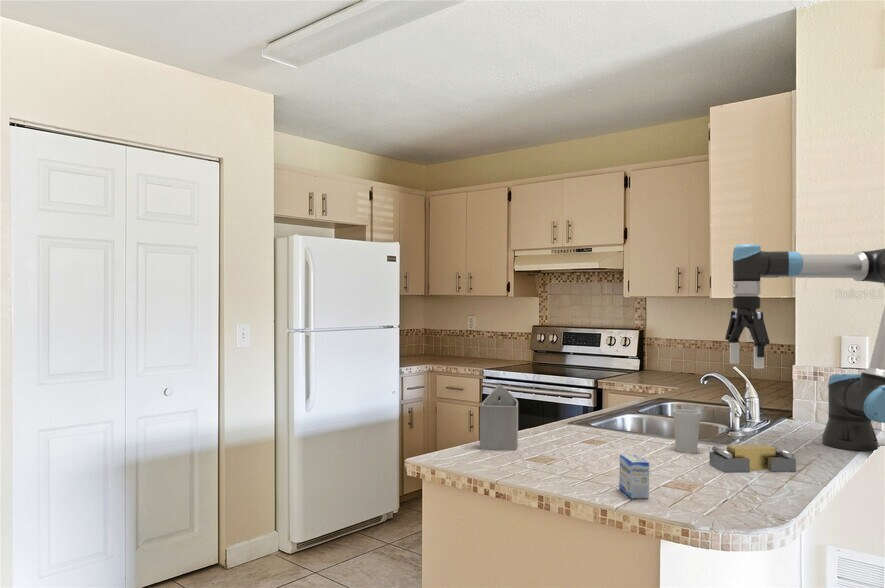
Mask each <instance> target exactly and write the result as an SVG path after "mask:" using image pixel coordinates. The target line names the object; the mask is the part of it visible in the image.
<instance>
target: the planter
mask: <svg viewBox="0 0 885 588" xmlns="http://www.w3.org/2000/svg"><path fill="white" fill-rule="evenodd" d="M518 447H519V401H518V399H517V398H516V397H515V396H514V395H513V394H512V393H511V392H509V391H508V389H506V388H505V387H504V386H502V385H501V384H498V385H497V386H496V387H495V388H494V389H493V390H492V391H491V392H490V393H489V395H487V397H486V398H485V399H484V400H483V401H482V402H481V403H480V406H479V450H482V451H484V450H485V451H486V450H487V451H517V450H518Z"/></svg>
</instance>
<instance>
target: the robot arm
mask: <svg viewBox="0 0 885 588" xmlns="http://www.w3.org/2000/svg"><path fill="white" fill-rule="evenodd" d="M761 248H762V247H761V245H760V244H755V243H749V244H748V243H746V244H743V243H742V244H737V245H736V246H734V247H733V251H732V285H731V287H732V294H733V295H734V296H733V297H732V308H733V309H737V310H736V311H734V310H732V311H730V319H729V323H728V326H727V330H726V333H725V337H724V338H725V340H726V341H728V343H729V364H730V365H731V364H732V365H734V364H737V365H740V340H739V339H740V337H741V335H742V334H743V331H744V329H745V328H747V329H748V330H749V333H750V335H751V337H752V340H753V342H754V344H753V369H756V370H758V369H765V346H767V345H770V342H771V341H770V339H769V338H770V337H769V335H768V331H767V328H766V324H765V320H764V313H763V311H757V309H758V310H759V309H761V297H760V296H759V295H761V279H762V278H764V279H765V278H767V279H768V278H770V279H771V278H772V279H773V278H777V279H778V278H787V279H788V278H793V279H794V278H795V279H797V278H798V279H799V278H802V279H803V278H805V279H811V278H812V279H813V278H815V279H816V278H818V279H821V278H823V279H825V278H826V279H830V278H831V279H853V281H856V282H870V283H877V284H878V283H880V284H883V287H884V288H885V248H881V249H880V248H878V249H876V250H867V251H866V250H865V251H863V250H861V251H860V250H859V251H855V252H854V253H853V254H838V253H837V254H833V253H831V254H820V253H819V254H815V253H814V254H813V253H812V254H808V253H807V254H801V253H800V252H798V251H789V250H787V251H783V250H782V251H781V250H780V251H778V250H777V251H765V250H764V251H763V250H762V249H761ZM880 319H881V320H880V322H879V327H878V331H877V335H876V338H875V343H874V346H873V351H872V355H871V358H870V363H869V366H868V368H866V369H865V370H863V371H861V373H858V374H857V373H856V374H855V373H840V374H838V373H837V374H836V373H835V374H834V373H833V374H831V375H829V378H828V384H827V387H828V420H827V423H826V426H825V427H824V430H823V433H822V436H821V443H822V444H824V445H825V446H828V447H831V448H837V449H841V450H842V449H843V450H850V451H861V452H862V451H863V452H868V451H869V452H870V451H877V450H878V449H879V440H878V439H877V435H876V433H875V430H874V427H873V422H876V423H879V424H881V423H883V424H885V306H884V307H883V312H882V315H881V318H880Z"/></svg>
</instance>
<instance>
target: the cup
mask: <svg viewBox="0 0 885 588" xmlns="http://www.w3.org/2000/svg"><path fill="white" fill-rule="evenodd" d="M672 416H673V426H674V427H673V429H674V441H675V442H674V443H675V451H676V452H678V453H679V452H680V453H685V454H697V453H698V451H699V450H698V447H699V435H700V423H701V422H700V421H701V412H700V411H699V410H695V409H694V410H692V409H684V408H683V409H674V410H672Z"/></svg>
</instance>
